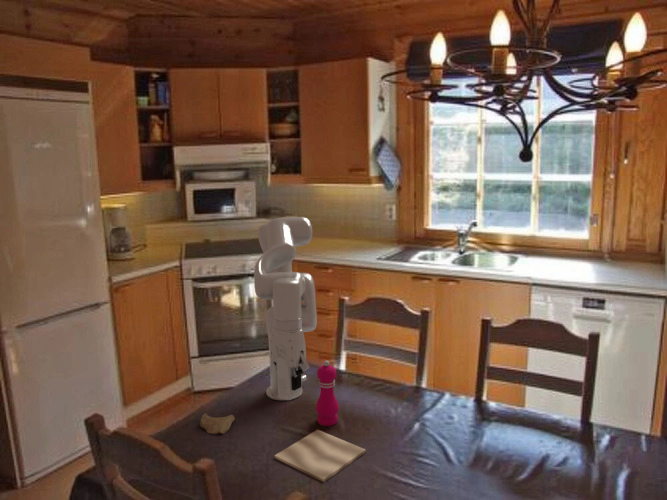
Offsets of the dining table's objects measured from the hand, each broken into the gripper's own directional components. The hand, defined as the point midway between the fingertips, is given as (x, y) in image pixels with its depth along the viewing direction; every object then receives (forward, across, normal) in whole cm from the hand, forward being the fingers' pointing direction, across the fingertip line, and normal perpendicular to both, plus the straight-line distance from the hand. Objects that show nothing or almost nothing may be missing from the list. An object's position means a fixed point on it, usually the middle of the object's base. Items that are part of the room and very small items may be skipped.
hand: (289, 385), depth 153 cm
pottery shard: (+20, -28, -6) cm, 34 cm away
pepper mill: (+19, -3, +19) cm, 27 cm away
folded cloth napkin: (+19, +9, +3) cm, 21 cm away
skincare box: (+3, 0, 0) cm, 3 cm away
